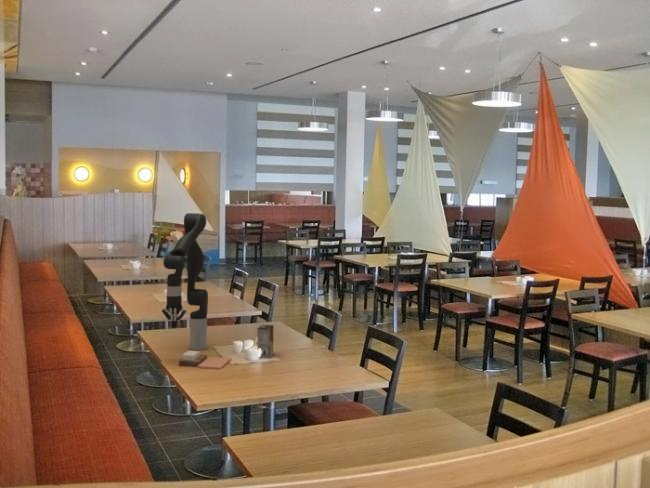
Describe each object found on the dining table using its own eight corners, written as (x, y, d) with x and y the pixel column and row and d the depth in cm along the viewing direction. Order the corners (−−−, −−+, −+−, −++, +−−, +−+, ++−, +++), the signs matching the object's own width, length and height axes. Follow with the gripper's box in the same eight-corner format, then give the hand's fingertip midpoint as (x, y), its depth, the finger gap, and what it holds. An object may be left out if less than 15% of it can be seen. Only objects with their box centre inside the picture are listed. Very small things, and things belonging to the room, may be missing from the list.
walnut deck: (188, 358, 359) (188, 353, 359) (206, 359, 357) (206, 355, 357) (178, 365, 345) (178, 360, 345) (197, 366, 344) (197, 362, 343)
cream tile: (188, 355, 356) (188, 350, 356) (199, 355, 355) (199, 351, 355) (182, 359, 347) (182, 354, 347) (193, 360, 346) (193, 355, 346)
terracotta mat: (208, 358, 359) (208, 356, 359) (231, 360, 358) (231, 358, 357) (197, 368, 342) (197, 366, 342) (220, 369, 340) (220, 367, 340)
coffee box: (262, 353, 372) (262, 324, 371) (273, 354, 371) (273, 325, 369) (257, 357, 363) (257, 327, 362) (268, 358, 362) (269, 328, 361)
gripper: (189, 293, 352) (189, 327, 354) (164, 292, 354) (164, 325, 356) (184, 296, 345) (184, 330, 346) (159, 295, 347) (159, 328, 348)
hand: (174, 327), depth 351 cm, fingers closed
